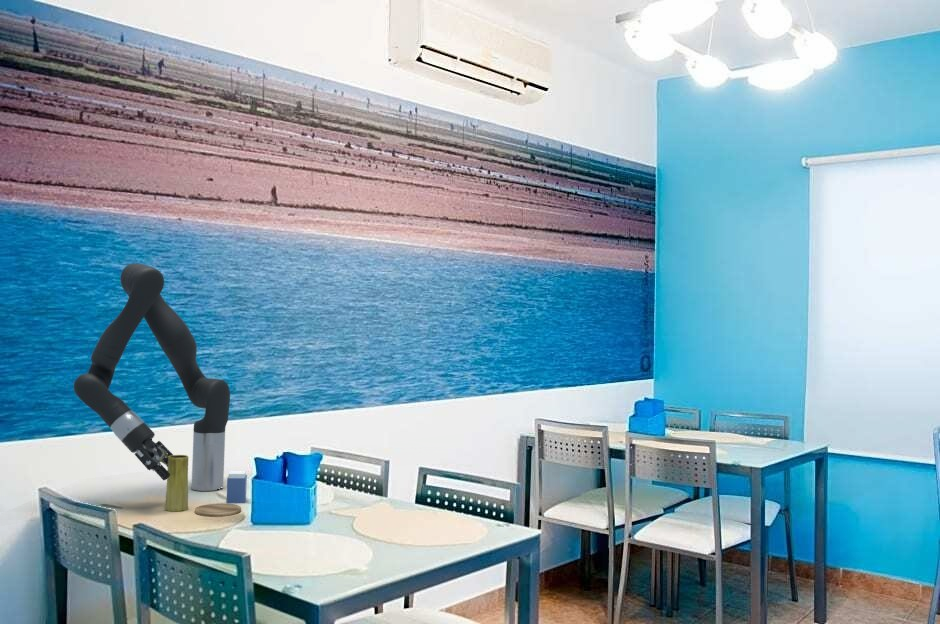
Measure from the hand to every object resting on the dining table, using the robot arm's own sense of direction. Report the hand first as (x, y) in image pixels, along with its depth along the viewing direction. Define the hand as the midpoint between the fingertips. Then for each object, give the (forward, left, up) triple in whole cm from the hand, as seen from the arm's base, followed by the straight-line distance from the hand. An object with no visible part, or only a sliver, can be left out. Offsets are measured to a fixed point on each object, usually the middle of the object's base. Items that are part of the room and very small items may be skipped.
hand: (173, 475), depth 231 cm
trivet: (+1, +13, -9) cm, 16 cm away
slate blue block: (-12, +14, -9) cm, 21 cm away
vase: (0, +1, -9) cm, 9 cm away
